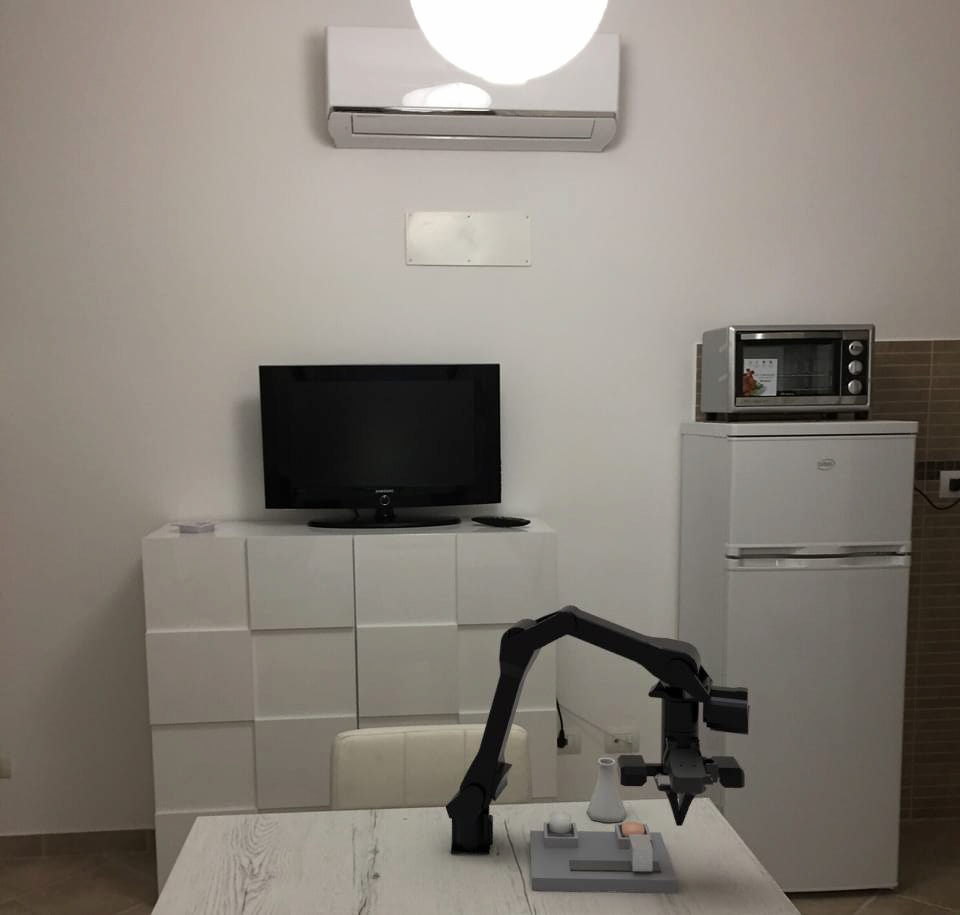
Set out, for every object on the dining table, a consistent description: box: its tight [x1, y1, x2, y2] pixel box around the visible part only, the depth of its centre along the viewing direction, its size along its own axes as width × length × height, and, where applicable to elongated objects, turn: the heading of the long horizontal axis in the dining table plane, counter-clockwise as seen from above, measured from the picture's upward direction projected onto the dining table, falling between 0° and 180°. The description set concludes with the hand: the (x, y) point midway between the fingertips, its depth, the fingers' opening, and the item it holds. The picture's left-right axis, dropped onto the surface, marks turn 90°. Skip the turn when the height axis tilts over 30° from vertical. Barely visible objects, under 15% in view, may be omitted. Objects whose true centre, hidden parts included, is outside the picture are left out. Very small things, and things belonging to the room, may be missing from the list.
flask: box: [586, 757, 627, 824], centre depth 158 cm, size 7×7×10 cm
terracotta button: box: [622, 821, 644, 838], centre depth 144 cm, size 4×4×2 cm
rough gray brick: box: [629, 834, 652, 871], centre depth 136 cm, size 3×4×4 cm
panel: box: [529, 821, 678, 894], centre depth 140 cm, size 22×15×4 cm
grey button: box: [549, 810, 572, 833], centre depth 145 cm, size 4×4×2 cm
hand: (678, 824), depth 135 cm, fingers closed
